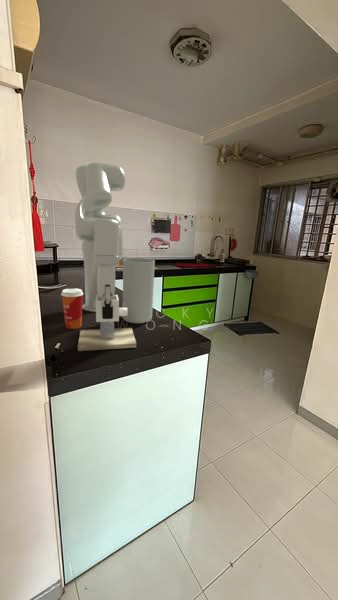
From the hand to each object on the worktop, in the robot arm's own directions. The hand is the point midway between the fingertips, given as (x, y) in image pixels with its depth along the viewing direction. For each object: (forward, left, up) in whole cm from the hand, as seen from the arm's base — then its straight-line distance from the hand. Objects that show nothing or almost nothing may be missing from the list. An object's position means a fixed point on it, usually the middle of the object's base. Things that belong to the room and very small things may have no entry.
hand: (107, 314), depth 83 cm
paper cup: (-14, -12, -10) cm, 21 cm away
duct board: (0, 0, -10) cm, 10 cm away
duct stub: (0, 0, -8) cm, 8 cm away
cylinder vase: (-20, +13, -10) cm, 26 cm away
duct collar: (0, +1, -1) cm, 2 cm away
